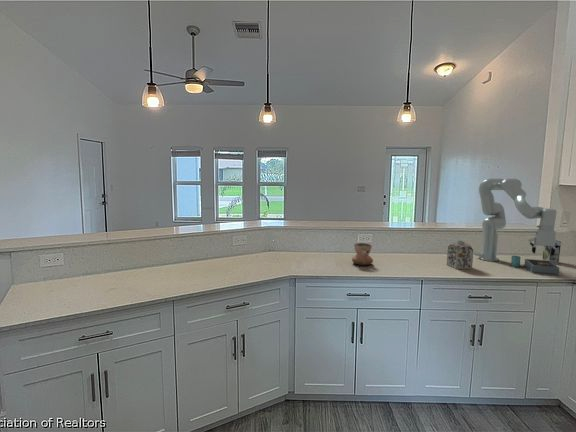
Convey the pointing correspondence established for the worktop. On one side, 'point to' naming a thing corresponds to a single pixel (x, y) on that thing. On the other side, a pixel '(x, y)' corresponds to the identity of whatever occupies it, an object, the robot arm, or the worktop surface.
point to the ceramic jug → (362, 254)
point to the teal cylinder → (515, 261)
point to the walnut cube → (542, 264)
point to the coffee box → (549, 257)
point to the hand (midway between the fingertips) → (542, 253)
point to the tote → (541, 267)
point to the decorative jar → (460, 255)
